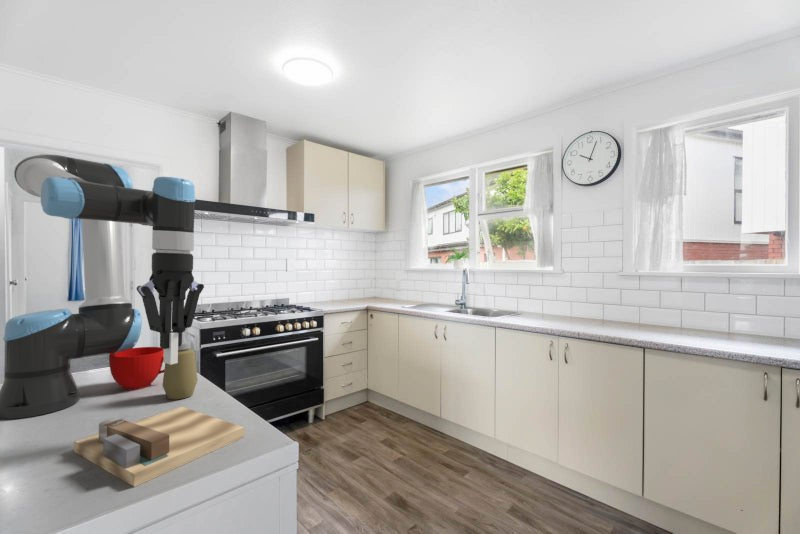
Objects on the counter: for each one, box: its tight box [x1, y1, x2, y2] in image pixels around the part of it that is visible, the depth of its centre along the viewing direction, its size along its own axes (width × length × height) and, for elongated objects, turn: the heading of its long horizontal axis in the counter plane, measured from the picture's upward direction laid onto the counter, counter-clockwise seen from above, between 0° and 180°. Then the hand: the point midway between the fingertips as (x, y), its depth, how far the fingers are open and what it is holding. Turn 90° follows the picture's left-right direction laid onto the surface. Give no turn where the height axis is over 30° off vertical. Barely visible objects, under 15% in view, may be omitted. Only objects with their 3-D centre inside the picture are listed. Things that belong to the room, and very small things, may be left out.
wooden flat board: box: [73, 406, 245, 488], centre depth 73 cm, size 22×20×5 cm
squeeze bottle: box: [162, 331, 198, 400], centre depth 100 cm, size 8×8×18 cm
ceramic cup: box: [108, 346, 164, 390], centre depth 109 cm, size 13×17×10 cm
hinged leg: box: [98, 417, 169, 460], centre depth 68 cm, size 17×4×3 cm, turn 64°
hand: (170, 362), depth 80 cm, fingers closed
